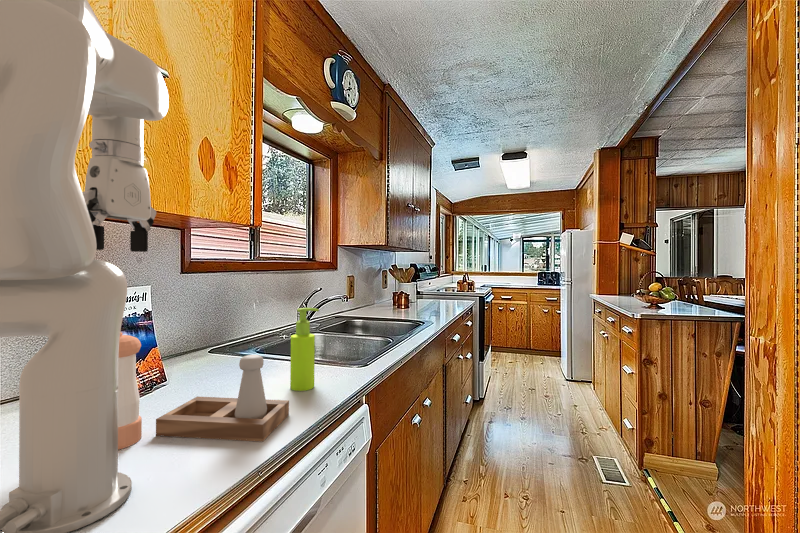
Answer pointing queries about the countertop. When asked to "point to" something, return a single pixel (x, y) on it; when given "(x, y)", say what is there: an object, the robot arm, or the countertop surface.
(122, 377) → the pepper shaker
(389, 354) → the countertop surface
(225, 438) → the caddy
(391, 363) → the countertop surface
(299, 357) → the soap dispenser
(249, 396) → the salt shaker
